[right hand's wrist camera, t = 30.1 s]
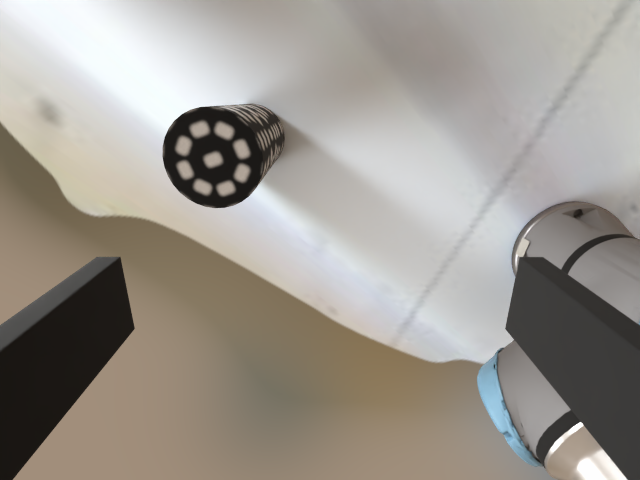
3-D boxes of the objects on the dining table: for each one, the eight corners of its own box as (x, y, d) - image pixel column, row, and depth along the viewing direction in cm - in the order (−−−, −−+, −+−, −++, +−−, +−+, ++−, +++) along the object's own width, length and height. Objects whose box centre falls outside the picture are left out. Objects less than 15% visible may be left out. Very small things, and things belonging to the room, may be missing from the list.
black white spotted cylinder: (270, 94, 48) (239, 91, 30) (293, 156, 51) (278, 189, 32) (211, 116, 49) (144, 127, 31) (236, 176, 52) (190, 220, 33)
